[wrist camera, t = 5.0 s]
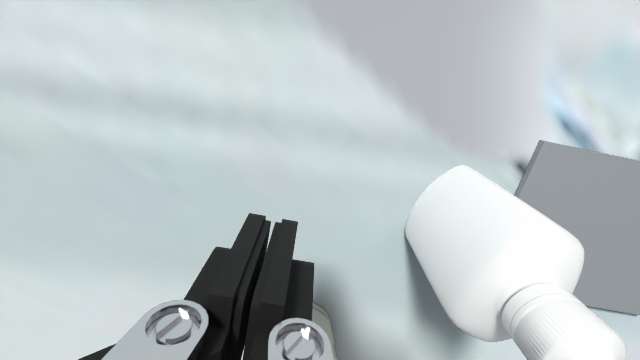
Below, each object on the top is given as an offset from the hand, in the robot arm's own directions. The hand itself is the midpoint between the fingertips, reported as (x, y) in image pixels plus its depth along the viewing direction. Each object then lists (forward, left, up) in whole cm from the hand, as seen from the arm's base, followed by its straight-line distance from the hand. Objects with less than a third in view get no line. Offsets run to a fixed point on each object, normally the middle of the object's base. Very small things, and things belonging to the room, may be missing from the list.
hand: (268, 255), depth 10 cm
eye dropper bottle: (-9, 0, -8) cm, 13 cm away
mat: (-19, 0, -8) cm, 21 cm away
